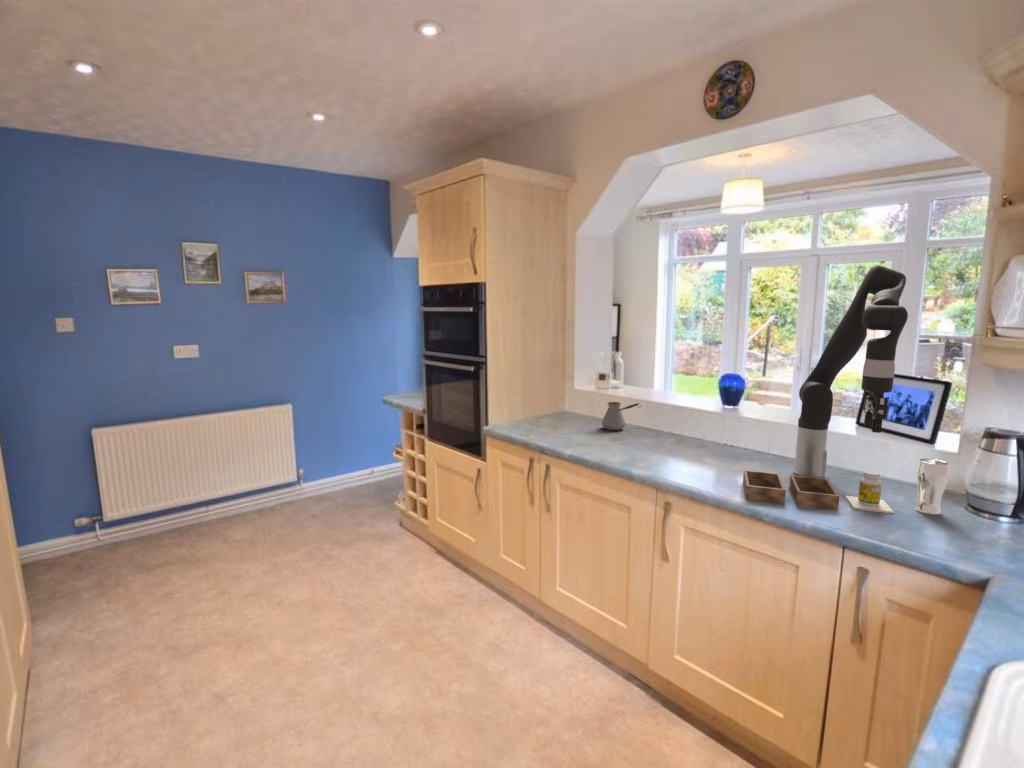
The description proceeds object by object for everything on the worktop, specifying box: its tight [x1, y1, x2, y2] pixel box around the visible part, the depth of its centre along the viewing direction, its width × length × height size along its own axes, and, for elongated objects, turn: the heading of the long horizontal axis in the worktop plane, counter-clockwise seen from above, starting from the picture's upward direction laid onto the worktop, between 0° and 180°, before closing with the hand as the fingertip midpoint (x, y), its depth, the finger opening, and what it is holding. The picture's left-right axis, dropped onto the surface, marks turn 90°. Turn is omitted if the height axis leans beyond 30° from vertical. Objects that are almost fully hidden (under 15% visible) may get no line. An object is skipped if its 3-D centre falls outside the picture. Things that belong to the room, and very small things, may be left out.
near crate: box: [788, 474, 840, 512], centre depth 164 cm, size 11×17×4 cm, turn 159°
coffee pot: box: [601, 401, 641, 431], centre depth 251 cm, size 21×12×15 cm, turn 36°
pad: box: [845, 495, 895, 515], centre depth 159 cm, size 10×10×1 cm
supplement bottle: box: [857, 470, 882, 506], centre depth 158 cm, size 5×5×10 cm
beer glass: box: [914, 458, 949, 516], centre depth 154 cm, size 7×7×15 cm
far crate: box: [742, 469, 787, 505], centre depth 169 cm, size 11×17×4 cm, turn 159°
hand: (872, 429), depth 156 cm, fingers open, 8 cm apart
